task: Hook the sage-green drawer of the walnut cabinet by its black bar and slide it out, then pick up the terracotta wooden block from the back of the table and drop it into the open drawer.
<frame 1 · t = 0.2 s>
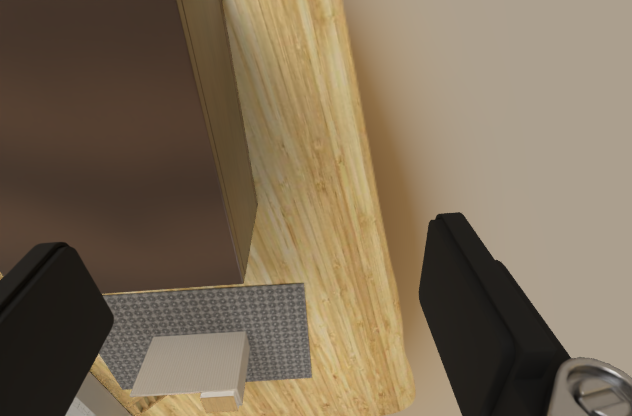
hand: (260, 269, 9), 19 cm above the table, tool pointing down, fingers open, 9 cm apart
skate ramp: (64, 398, 47), on the table
model: (203, 341, 41), on the table
cabinet: (145, 119, 26), on the table
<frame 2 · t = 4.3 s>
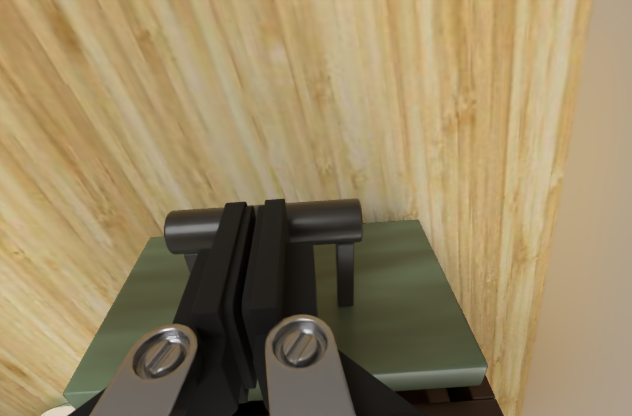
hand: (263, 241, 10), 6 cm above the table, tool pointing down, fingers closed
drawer: (293, 364, 17), point 5 cm above the table, slide at 0.6 cm, touching gripper
cabinet: (300, 336, 24), on the table
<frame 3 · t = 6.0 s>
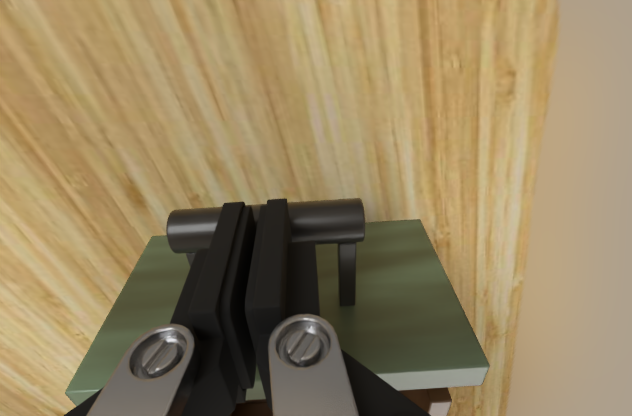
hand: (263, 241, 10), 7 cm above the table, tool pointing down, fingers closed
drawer: (294, 363, 17), point 5 cm above the table, slide at 7.9 cm, touching gripper
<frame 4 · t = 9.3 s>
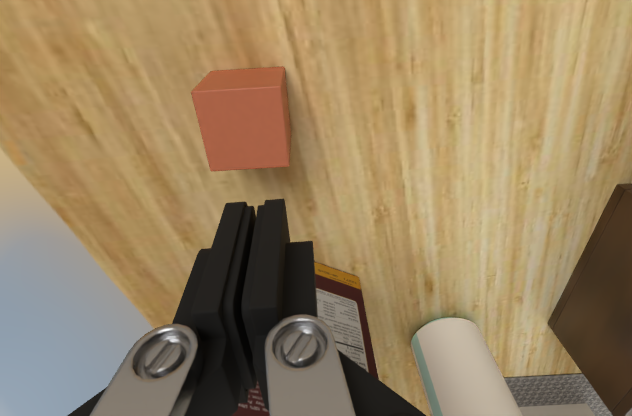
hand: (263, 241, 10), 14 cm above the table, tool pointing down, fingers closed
supplement box: (274, 311, 34), on the table
model: (541, 410, 46), on the table
block: (253, 105, 22), on the table
can: (442, 332, 36), on the table
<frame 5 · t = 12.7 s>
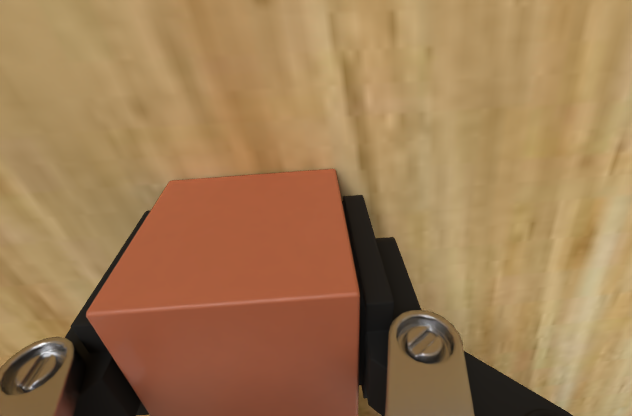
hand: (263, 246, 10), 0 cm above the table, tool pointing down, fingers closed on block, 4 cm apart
block: (264, 238, 11), on the table, touching gripper
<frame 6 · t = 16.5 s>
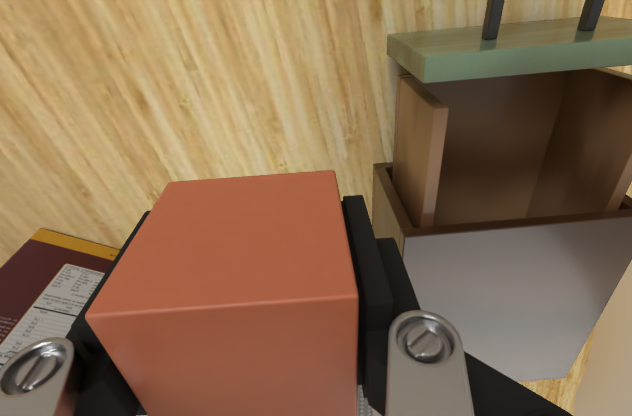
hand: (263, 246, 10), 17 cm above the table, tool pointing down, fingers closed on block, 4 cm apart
supplement box: (96, 298, 35), on the table
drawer: (504, 129, 22), point 5 cm above the table, slide at 8.3 cm
model: (407, 393, 47), on the table
cabinet: (449, 236, 32), on the table
block: (263, 240, 11), point 17 cm above the table, touching gripper
when the fingers open (8 cm above the table, at t = 20.4 s): block drops 6 cm, resting on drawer.
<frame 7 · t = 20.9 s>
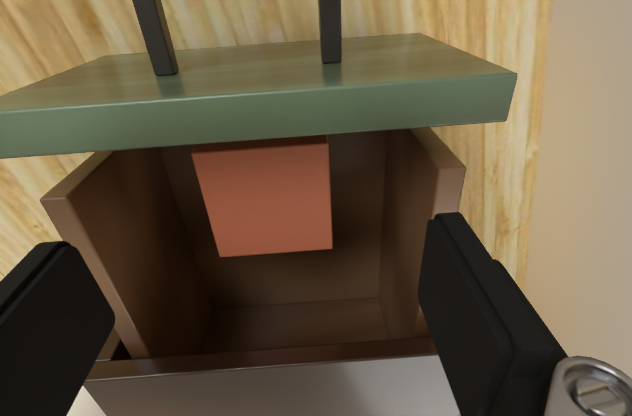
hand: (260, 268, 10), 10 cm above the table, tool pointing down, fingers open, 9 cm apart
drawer: (274, 203, 14), point 5 cm above the table, slide at 8.3 cm, touching block
cabinet: (299, 310, 25), on the table
block: (275, 154, 16), point 2 cm above the table, touching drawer
can: (101, 394, 30), on the table
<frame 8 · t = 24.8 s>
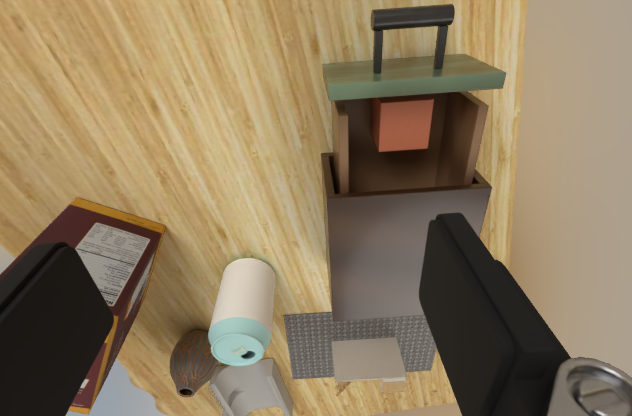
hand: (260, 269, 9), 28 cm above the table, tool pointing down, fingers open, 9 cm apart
skate ramp: (248, 386, 64), on the table
vase: (201, 336, 55), on the table
supplement box: (114, 254, 45), on the table
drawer: (399, 130, 32), point 5 cm above the table, slide at 8.3 cm, touching block
model: (363, 344, 58), on the table
cabinet: (382, 210, 43), on the table
block: (393, 110, 34), point 2 cm above the table, touching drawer
can: (250, 272, 48), on the table
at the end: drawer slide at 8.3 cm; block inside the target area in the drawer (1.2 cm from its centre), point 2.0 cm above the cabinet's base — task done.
